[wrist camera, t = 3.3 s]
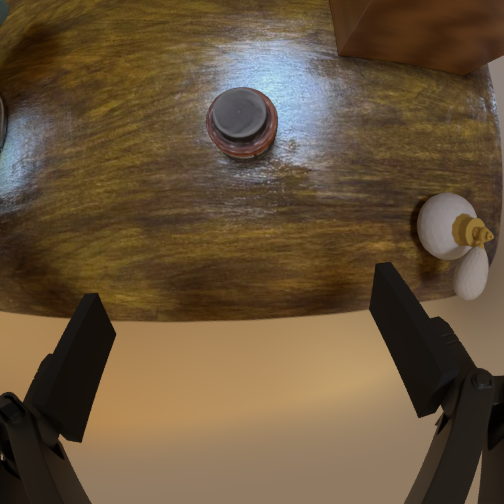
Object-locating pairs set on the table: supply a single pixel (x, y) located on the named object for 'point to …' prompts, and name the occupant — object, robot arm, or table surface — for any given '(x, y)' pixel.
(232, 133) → the supplement bottle
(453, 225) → the perfume bottle
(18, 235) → the table surface
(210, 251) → the table surface
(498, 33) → the stand
